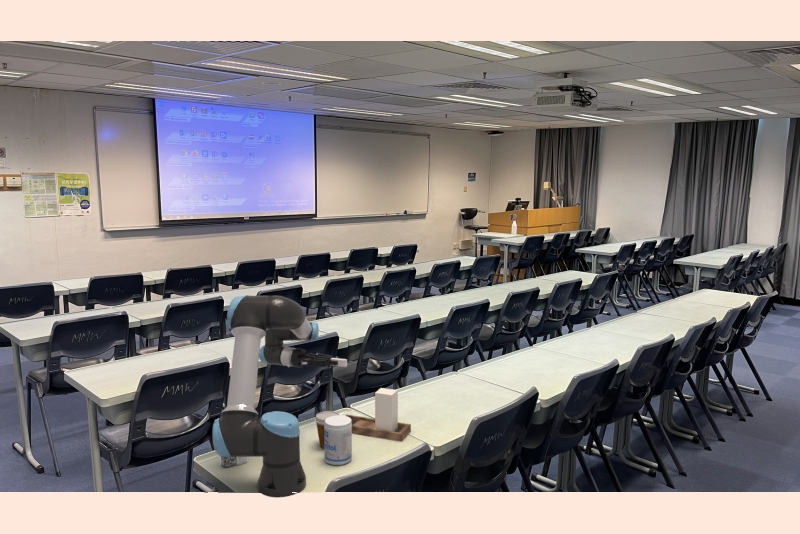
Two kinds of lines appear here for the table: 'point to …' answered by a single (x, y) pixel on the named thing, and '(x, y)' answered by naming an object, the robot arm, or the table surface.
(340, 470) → the table surface
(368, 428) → the trap track
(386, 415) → the block
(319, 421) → the disposable coffee cup
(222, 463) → the ink box
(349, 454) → the supplement tub
